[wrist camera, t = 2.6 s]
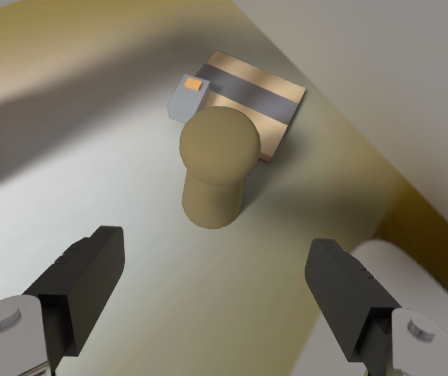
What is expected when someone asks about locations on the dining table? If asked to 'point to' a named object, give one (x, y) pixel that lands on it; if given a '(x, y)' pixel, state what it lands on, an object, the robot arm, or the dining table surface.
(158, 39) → the dining table surface
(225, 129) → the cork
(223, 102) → the plywood board
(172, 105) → the block
